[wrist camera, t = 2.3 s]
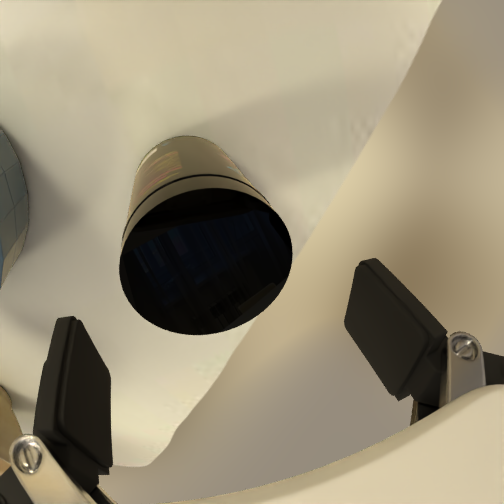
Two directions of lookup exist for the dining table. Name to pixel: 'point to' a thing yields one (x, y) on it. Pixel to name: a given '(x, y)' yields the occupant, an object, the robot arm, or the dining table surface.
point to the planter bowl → (7, 429)
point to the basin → (11, 207)
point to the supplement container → (200, 241)
